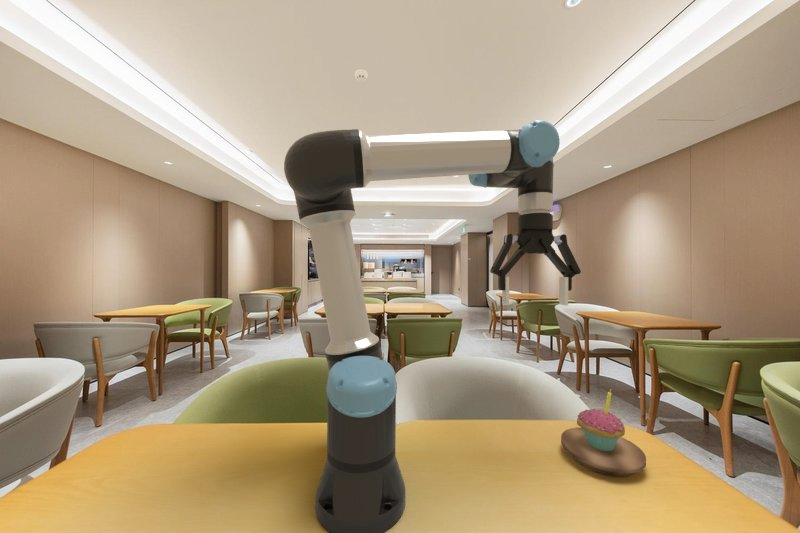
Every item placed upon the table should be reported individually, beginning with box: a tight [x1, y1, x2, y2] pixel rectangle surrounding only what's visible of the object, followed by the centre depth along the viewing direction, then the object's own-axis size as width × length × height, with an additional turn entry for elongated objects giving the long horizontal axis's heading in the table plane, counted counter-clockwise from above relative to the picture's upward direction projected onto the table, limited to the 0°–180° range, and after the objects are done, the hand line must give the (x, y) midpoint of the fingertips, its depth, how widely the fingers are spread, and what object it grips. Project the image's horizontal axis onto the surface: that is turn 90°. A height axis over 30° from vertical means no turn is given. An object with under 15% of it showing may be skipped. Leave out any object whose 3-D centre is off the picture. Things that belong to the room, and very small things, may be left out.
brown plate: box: [560, 427, 647, 478], centre depth 67 cm, size 15×15×3 cm
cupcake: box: [576, 388, 626, 451], centre depth 67 cm, size 9×8×12 cm
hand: (534, 304), depth 74 cm, fingers open, 13 cm apart
